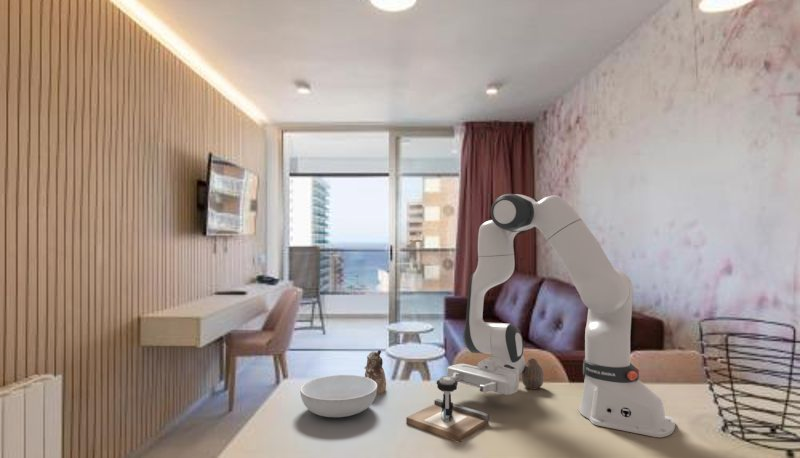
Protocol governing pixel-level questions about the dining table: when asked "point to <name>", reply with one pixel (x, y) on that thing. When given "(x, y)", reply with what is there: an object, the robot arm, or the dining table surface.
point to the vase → (532, 375)
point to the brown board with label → (458, 426)
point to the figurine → (376, 371)
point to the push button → (447, 395)
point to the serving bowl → (338, 395)
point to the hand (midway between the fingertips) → (466, 384)
